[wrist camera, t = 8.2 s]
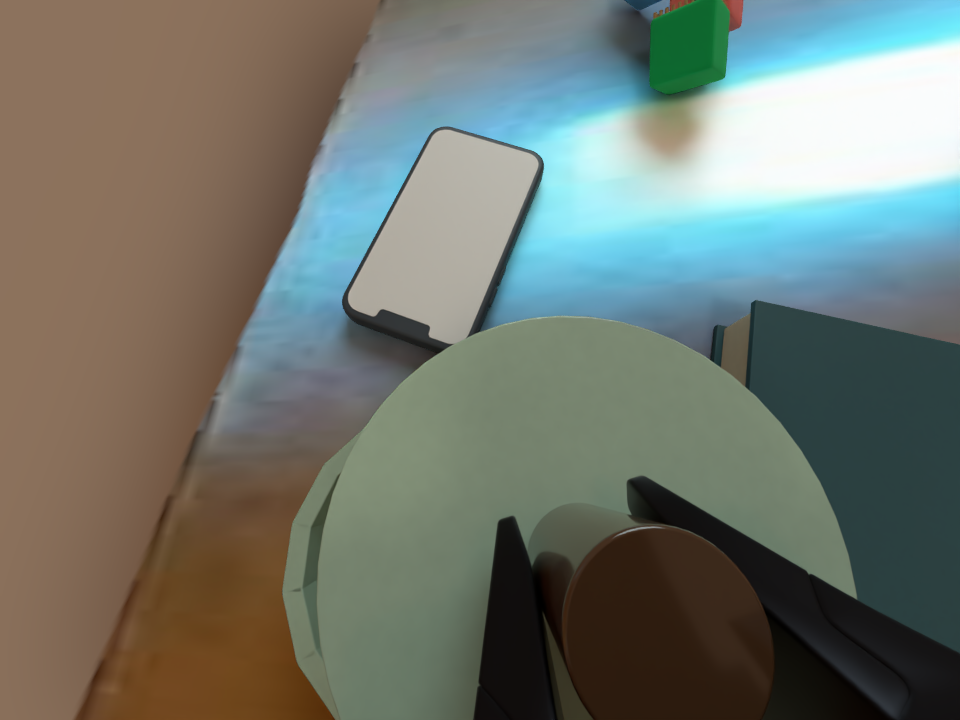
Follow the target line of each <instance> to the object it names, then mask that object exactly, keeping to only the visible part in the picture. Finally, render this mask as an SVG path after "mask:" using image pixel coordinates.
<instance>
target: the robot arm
mask: <svg viewBox="0 0 960 720" xmlns="http://www.w3.org/2000/svg"><path fill="white" fill-rule="evenodd" d="M626 488H627V504H628V508H629V510H630V513H631V515H633V516H637V517H641V518H645V519H649V520H652V521H656V522H660V523H664V524H668V525H671V526H675V527H678V528H681V529H684V530H688V531H690V532H692V533H694V534H696V535H699V536H701V537H703V538H704V539H706V540H707V541H709V542H711V543H712V544H714V545H715V546H716V547H717V548H719V549H720V550H721V551H722V552H724V553H725V554H726V555H727V556H728V557H729V558H730V559H731V560H732V561H733V562H734V563H735V564H736V565H737V566H738V568H739V569H740V570H741V571H742V573H743V574H744V575H745V576H746V578H747V579H748V581H749V583H750V584H751V586H752V587H753V589H754V590H755V592H756V594H757V596H758V598H759V600H760V602H761V604H762V606H763V609H764V611H765V614H766V617H767V619H768V623H769V626H770V630H771V634H772V639H773V646H774V656H775V672H774V684H773V688H772V693H771V698H770V701H769V704H768V707H767V709H766V712H765V714H764V716H763V718H762V720H960V653H959V652H957V651H955V650H953V649H951V648H949V647H947V646H945V645H943V644H941V643H939V642H937V641H935V640H933V639H931V638H929V637H927V636H925V635H923V634H921V633H919V632H917V631H915V630H913V629H911V628H909V627H907V626H906V625H904V624H902V623H900V622H898V621H896V620H894V619H892V618H890V617H888V616H886V615H885V614H883V613H881V612H879V611H877V610H875V609H873V608H871V607H869V606H867V605H866V604H864V603H862V602H860V601H859V600H857V599H855V598H853V597H852V596H850V595H848V594H846V593H844V592H843V591H841V590H839V589H837V588H836V587H834V586H832V585H830V584H829V583H827V582H825V581H824V580H822V579H820V578H818V577H817V576H815V575H813V574H808V572H807V571H806V570H805V569H803V568H801V567H799V566H798V565H796V564H794V563H793V562H791V561H789V560H788V559H786V558H784V557H782V556H781V555H779V554H777V553H776V552H774V551H772V550H770V549H769V548H767V547H765V546H764V545H762V544H760V543H759V542H757V541H755V540H753V539H752V538H750V537H748V536H747V535H745V534H743V533H742V532H740V531H738V530H736V529H735V528H733V527H731V526H730V525H728V524H726V523H725V522H723V521H721V520H719V519H718V518H716V517H714V516H713V515H711V514H709V513H707V512H706V511H704V510H702V509H701V508H699V507H697V506H696V505H694V504H692V503H690V502H689V501H687V500H685V499H684V498H682V497H680V496H679V495H677V494H675V493H673V492H672V491H670V490H668V489H667V488H665V487H663V486H661V485H660V484H658V483H656V482H655V481H653V480H651V479H650V478H648V477H646V476H643V475H641V476H637V477H634V478H630V479H628V480H627V483H626ZM478 683H479V685H480V686H478V687H477V693H476V701H475V709H474V716H473V720H564V716H563V711H562V706H561V701H560V696H559V691H558V685H557V680H556V675H555V670H554V665H553V660H552V655H551V650H550V644H549V639H548V634H547V629H546V624H545V619H544V615H543V611H542V608H541V605H540V600H539V595H538V591H537V586H536V582H535V578H534V574H533V570H532V566H531V562H530V559H529V555H528V552H527V550H526V547H525V544H524V541H523V538H522V535H521V532H520V529H519V526H518V523H517V520H516V518H515V516H508V517H505V518H502V519H500V520H499V521H498V524H497V531H496V540H495V548H494V556H493V564H492V572H491V581H490V589H489V597H488V605H487V613H486V621H485V630H484V638H483V646H482V654H481V662H480V671H479V679H478Z"/></svg>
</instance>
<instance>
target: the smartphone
mask: <svg viewBox="0 0 960 720" xmlns="http://www.w3.org/2000/svg"><path fill="white" fill-rule="evenodd" d="M543 170H544V163H543V160H542V158H541V157H540V156H539V155H538V154H537V153H536V152H534V151H531V150H528V149H524V148H521V147H517V146H514V145H511V144H507V143H504V142H500V141H497V140H493V139H490V138H487V137H483V136H480V135H476V134H473V133H470V132H466V131H463V130H459V129H456V128H452V127H440V128H437V129H435V130H434V131H433V132H431V134H430V135H429V137H428V139H427V140H426V142H425V144H424V146H423V148H422V150H421V152H420V153H419V155H418V157H417V159H416V161H415V163H414V165H413V166H412V168H411V170H410V172H409V174H408V176H407V178H406V180H405V181H404V183H403V185H402V187H401V189H400V191H399V193H398V194H397V196H396V198H395V200H394V202H393V204H392V206H391V207H390V209H389V211H388V213H387V215H386V217H385V219H384V220H383V222H382V224H381V226H380V228H379V230H378V232H377V234H376V235H375V237H374V239H373V241H372V243H371V245H370V247H369V248H368V250H367V252H366V254H365V256H364V258H363V260H362V261H361V263H360V265H359V267H358V269H357V271H356V273H355V274H354V276H353V278H352V280H351V282H350V284H349V286H348V288H347V289H346V291H345V293H344V295H343V299H342V305H343V309H344V311H345V312H346V314H347V315H348V316H349V317H350V319H351V320H352V321H354V322H355V323H357V324H359V325H362V326H365V327H368V328H370V329H373V330H376V331H379V332H381V333H384V334H387V335H390V336H392V337H395V338H398V339H400V340H403V341H406V342H409V343H411V344H414V345H417V346H420V347H422V348H425V349H428V350H431V351H433V352H436V353H440V352H442V351H443V350H445V349H446V348H448V347H450V346H452V345H454V344H456V343H458V342H460V341H462V340H464V339H466V338H468V337H470V336H472V335H474V334H476V333H479V331H480V328H481V326H482V323H483V321H484V318H485V316H486V313H487V311H488V309H489V308H490V307H491V305H492V302H493V300H494V297H495V295H496V292H497V287H498V286H499V285H500V283H501V280H502V278H503V275H504V273H505V270H506V265H507V262H508V260H509V257H510V255H511V252H512V250H513V248H514V245H515V243H516V240H517V238H518V235H519V233H520V230H521V228H522V226H523V223H524V221H525V218H526V216H527V213H528V211H529V208H530V206H531V204H532V201H533V199H534V196H535V194H536V191H537V189H538V187H539V184H540V182H541V179H542V175H543Z"/></svg>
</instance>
